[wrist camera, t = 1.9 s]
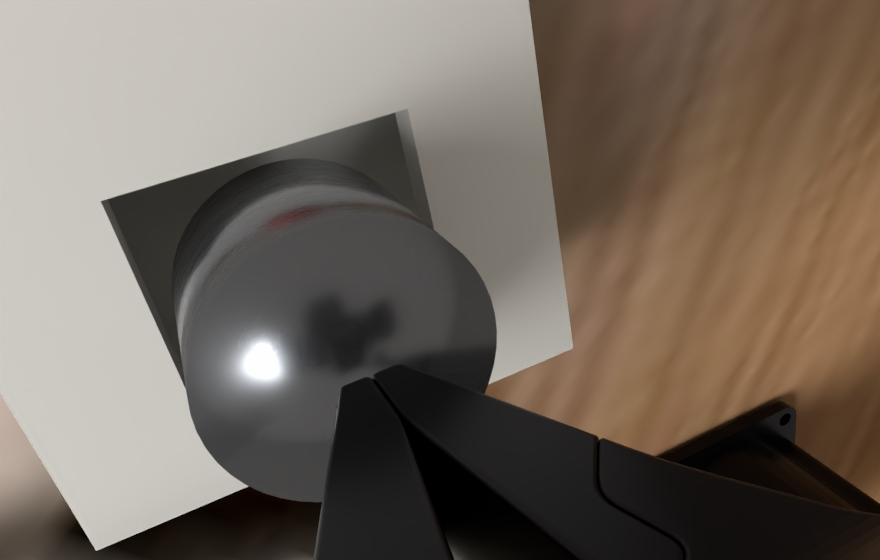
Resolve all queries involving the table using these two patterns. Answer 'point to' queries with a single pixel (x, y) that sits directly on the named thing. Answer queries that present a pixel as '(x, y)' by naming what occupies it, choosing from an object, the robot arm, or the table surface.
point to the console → (213, 165)
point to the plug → (313, 314)
